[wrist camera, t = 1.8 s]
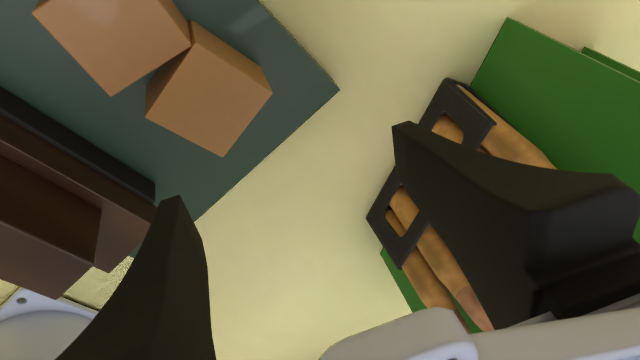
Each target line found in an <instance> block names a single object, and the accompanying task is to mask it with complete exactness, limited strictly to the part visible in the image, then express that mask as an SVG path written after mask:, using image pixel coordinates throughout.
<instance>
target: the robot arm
mask: <svg viewBox="0 0 640 360" xmlns="http://www.w3.org/2000/svg"><path fill="white" fill-rule="evenodd" d="M392 134H393V144H394V154H395V164H396V174H397V176H398V178H399V180H400V181H401V183H402V185H403V187H404V189H405V190H406V192H407V194H408V196H409V197H410V199H411V200H412V201H413V203H414V204H415V205H416V207H417V208H418V209H419V211H420V212H421V213H422V214H423V216H424V217H425V218H426V220H427V221H428V222H429V224H430V225H431V226H432V227H433V229H434V230H435V231H436V233H437V234H438V235H439V237H440V238H441V239H442V240H443V242H444V243H445V245H446V246H447V247H448V249H449V250H450V252H451V253H452V255H453V257H454V258H455V260H456V262H457V263H458V265H459V267H460V268H461V270H462V272H463V273H464V275H465V277H466V279H467V280H468V282H469V284H470V286H471V287H472V289H473V291H474V293H475V294H476V296H477V298H478V300H479V302H480V304H481V306H482V307H483V309H484V311H485V313H486V315H487V317H488V319H489V320H490V322H491V324H492V326H493V328H494V330H492V331H486V332H480V333H473V334H467V332H466V331H465V329H464V327H463V326H462V324H461V323H460V321H459V320H458V318H457V316H456V315H455V313H454V312H453V310H449V309H446V308H442V307H433V308H428V309H423V310H419V311H417V312H414V313H411V314H409V315H406V316H403V317H401V318H398V319H395V320H392V321H390V322H387V323H384V324H382V325H379V326H376V327H374V328H371V329H368V330H366V331H363V332H360V333H357V334H355V335H352V336H349V337H347V338H344V339H342V340H341V341H339V342H337V343H335V344H333V345H332V346H330V347H329V348H328V349H327V350H326V351H325V352H324V354H323V355H322V356H321V357H320V358H319V360H640V253H639V252H640V244H639V243H638V242H637V241H636V240H635V239H633V238H632V236H633V233H634V230H635V228H636V225H637V222H638V219H639V216H640V195H639V194H638V193H637V192H636V191H635V190H634V189H633V188H631V187H630V186H628V185H627V184H626V183H624V182H623V181H621V180H620V179H619V178H617V177H616V176H614V175H613V174H611V173H592V172H575V171H566V170H557V169H550V168H543V167H538V166H533V165H528V164H522V163H518V162H514V161H510V160H506V159H503V158H499V157H495V156H492V155H489V154H486V153H483V152H480V151H477V150H475V149H472V148H469V147H467V146H464V145H462V144H459V143H457V142H454V141H452V140H450V139H448V138H445V137H443V136H441V135H439V134H437V133H434V132H432V131H430V130H428V129H426V128H424V127H422V126H420V125H417V124H415V123H413V122H411V121H406V122H403V123H400V124H397V125H394V126H392ZM21 298H25V299H21ZM0 360H216V356H215V350H214V344H213V339H212V330H211V318H210V301H209V285H208V270H207V262H206V257H205V252H204V247H203V242H202V238H201V236H200V234H199V232H198V230H197V228H196V226H195V224H194V222H193V220H192V218H191V216H190V214H189V212H188V210H187V208H186V206H185V204H184V202H183V200H182V198H181V196H180V195H176V196H173V197H170V198H167V199H164V200H161V201H160V203H159V205H158V208H157V210H156V212H155V215H154V217H153V220H152V222H151V224H150V227H149V229H148V231H147V234H146V236H145V238H144V240H143V242H142V244H141V246H140V249H139V251H138V253H137V254H136V256H135V258H134V260H133V262H132V264H131V266H130V267H129V269H128V271H127V273H126V275H125V276H124V278H123V279H122V281H121V283H120V284H119V286H118V287H117V289H116V290H115V292H114V293H113V294H112V296H111V297H110V299H109V300H108V301H107V302H106V304H105V305H104V306H103V307H102V309H101V310H100V311H99V312H98V311H96V310H93V309H91V308H88V307H86V306H83V305H80V304H78V303H75V302H73V301H70V300H68V299H65V298H63V297H59V298H58V299H57V300H53V299H51V298H48V297H46V296H43V295H40V294H38V293H35V292H33V291H30V290H27V289H25V288H22V287H20V288H19V289H18V290H17V291H16V292H15V293H14V294H13V295H12V296H11V297H10V298H9V299H8V300H7V301H6V302H5V303H4V304H2V305H1V306H0Z"/></svg>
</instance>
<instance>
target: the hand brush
mask: <svg viewBox="0 0 640 360" xmlns="http://www.w3.org/2000/svg"><path fill="white" fill-rule="evenodd" d="M154 202H155V183H154V182H152V181H150V180H149V179H147V178H146V177H144V176H142V175H141V174H139V173H138V172H136V171H134V170H133V169H131V168H130V167H128V166H126V165H125V164H123V163H122V162H120V161H118V160H117V159H115V158H114V157H112V156H111V155H109V154H107V153H106V152H104V151H103V150H101V149H99V148H98V147H96V146H95V145H93V144H91V143H90V142H88V141H87V140H85V139H83V138H82V137H80V136H79V135H77V134H75V133H74V132H72V131H71V130H69V129H67V128H66V127H64V126H63V125H61V124H59V123H58V122H56V121H55V120H53V119H51V118H50V117H48V116H47V115H45V114H44V113H42V112H40V111H39V110H37V109H36V108H34V107H32V106H31V105H29V104H28V103H26V102H24V101H23V100H21V99H20V98H18V97H16V96H15V95H13V94H12V93H10V92H8V91H7V90H5V89H4V88H2V87H0V279H1V280H4V281H7V282H9V283H12V284H14V285H17V286H20V287H22V288H25V289H27V290H30V291H33V292H35V293H38V294H40V295H43V296H46V297H48V298H51V299H53V300H57V299H58V298H59V297H60V296H61V295H62V294H64V293H65V292H66V291H67V290H68V289H69V288H70V287H71V286H72V285H73V284H74V283H75V282H76V281H77V280H78V279H80V278H81V277H82V276H83V275H84V274H85V273H86V272H87V271H88V270H89V269H90V268H91V267H92V266H94V267H96V268H98V269H100V270H103V271H105V272H107V273H110V272H111V271H112V270H113V269H114V268H115V267H116V266H117V265H118V264H119V263H120V262H122V261H123V260H124V259H125V258H126V257H127V256H128V255H129V254H130V253H131V252H132V251H133V250H135V249H136V248H137V247H138V246H139V245H140V244H141V243H142V242H143V240H144V238H145V236H146V234H147V231H148V229H149V227H150V224H151V222H152V220H153V217H154V215H155V212H156V210H157V208H158V207H156V206H155V205H153V203H154Z"/></svg>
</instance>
